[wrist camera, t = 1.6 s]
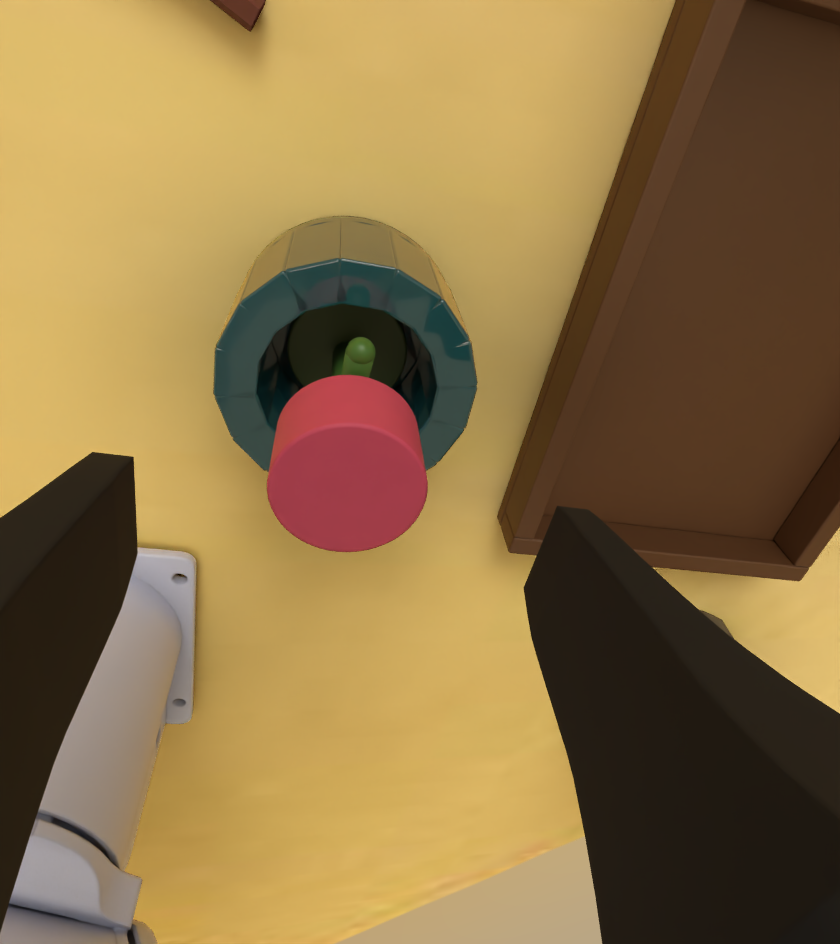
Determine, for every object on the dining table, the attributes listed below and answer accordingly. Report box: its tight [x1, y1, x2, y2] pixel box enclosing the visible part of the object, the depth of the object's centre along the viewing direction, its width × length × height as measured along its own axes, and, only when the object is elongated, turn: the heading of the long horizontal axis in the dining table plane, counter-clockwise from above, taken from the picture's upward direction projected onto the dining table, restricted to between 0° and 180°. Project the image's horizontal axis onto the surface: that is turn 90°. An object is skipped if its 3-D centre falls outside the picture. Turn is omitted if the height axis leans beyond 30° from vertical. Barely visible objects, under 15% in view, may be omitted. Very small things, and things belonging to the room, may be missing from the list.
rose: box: [267, 304, 428, 552], centre depth 15 cm, size 4×3×8 cm
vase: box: [213, 216, 477, 473], centre depth 17 cm, size 6×6×4 cm
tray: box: [497, 0, 840, 581], centre depth 19 cm, size 16×11×2 cm
